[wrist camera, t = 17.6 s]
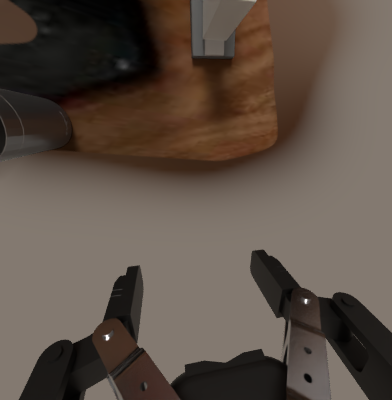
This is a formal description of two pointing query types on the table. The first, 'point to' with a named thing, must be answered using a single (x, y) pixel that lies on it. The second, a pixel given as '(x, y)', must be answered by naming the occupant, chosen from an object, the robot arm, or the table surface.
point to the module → (223, 17)
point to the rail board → (207, 47)
